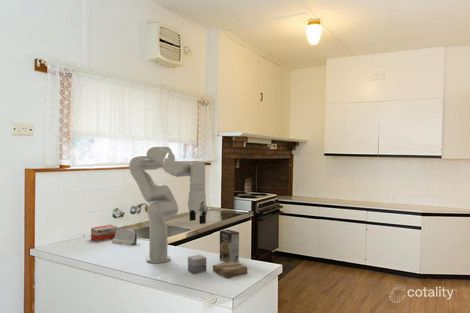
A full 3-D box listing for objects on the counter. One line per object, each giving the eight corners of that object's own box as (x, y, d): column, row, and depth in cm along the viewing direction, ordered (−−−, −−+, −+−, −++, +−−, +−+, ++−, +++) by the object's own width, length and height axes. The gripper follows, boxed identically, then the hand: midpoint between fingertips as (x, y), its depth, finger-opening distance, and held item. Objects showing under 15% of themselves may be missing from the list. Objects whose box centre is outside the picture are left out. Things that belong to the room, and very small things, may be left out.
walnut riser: (212, 271, 173) (212, 264, 173) (232, 266, 180) (232, 260, 180) (226, 278, 163) (226, 271, 163) (247, 273, 170) (247, 266, 170)
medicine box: (96, 241, 231) (96, 229, 231) (90, 239, 237) (90, 227, 237) (117, 237, 243) (117, 226, 242) (111, 235, 248) (111, 224, 248)
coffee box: (219, 260, 190) (219, 230, 190) (227, 258, 195) (227, 229, 195) (230, 264, 184) (230, 233, 184) (239, 261, 188) (239, 231, 188)
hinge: (111, 242, 228) (114, 227, 231) (116, 243, 232) (119, 228, 235) (131, 245, 221) (135, 229, 224) (136, 246, 225) (139, 230, 228)
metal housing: (187, 271, 174) (187, 256, 174) (200, 268, 178) (200, 254, 178) (193, 274, 169) (193, 259, 169) (206, 271, 173) (206, 257, 173)
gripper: (182, 186, 178) (182, 220, 178) (199, 189, 164) (199, 225, 164) (195, 185, 182) (195, 218, 182) (213, 188, 168) (213, 224, 168)
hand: (197, 222), depth 173 cm, fingers open, 9 cm apart
